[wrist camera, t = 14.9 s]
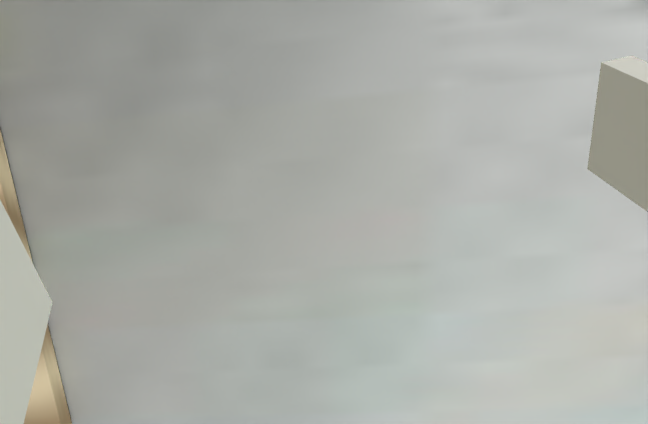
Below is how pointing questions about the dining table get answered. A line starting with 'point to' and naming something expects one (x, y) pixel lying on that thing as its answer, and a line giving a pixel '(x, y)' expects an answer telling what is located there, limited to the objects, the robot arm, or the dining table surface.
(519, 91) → the dining table surface
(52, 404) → the oak runner
